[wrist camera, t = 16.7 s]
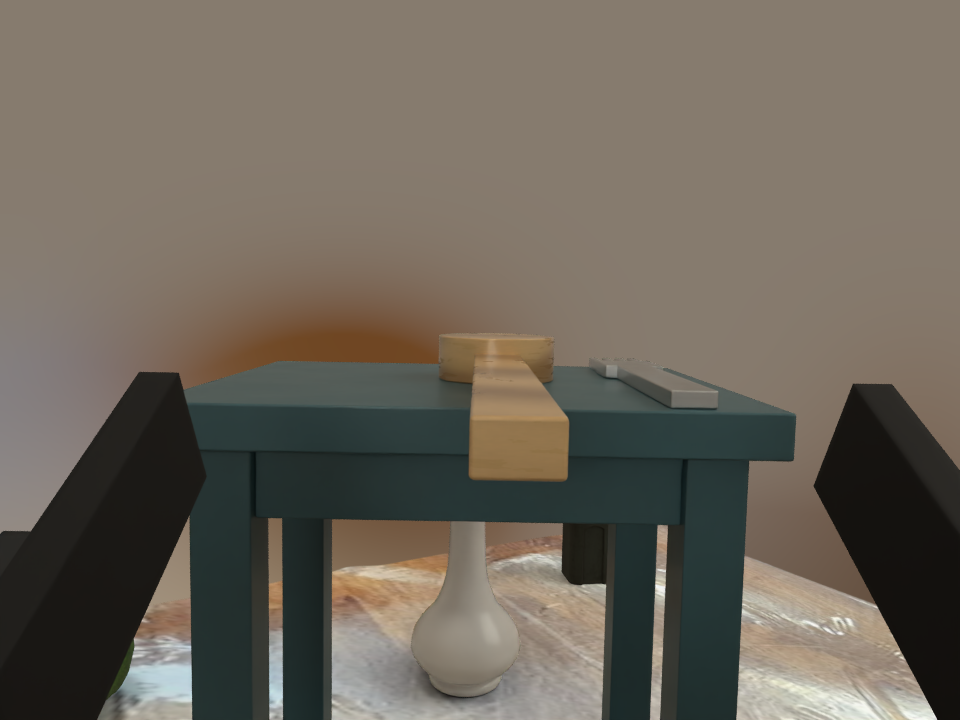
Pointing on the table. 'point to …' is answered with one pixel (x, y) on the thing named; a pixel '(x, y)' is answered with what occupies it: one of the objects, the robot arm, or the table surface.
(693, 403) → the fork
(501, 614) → the flower vase
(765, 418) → the stand
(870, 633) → the table surface
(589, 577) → the candle
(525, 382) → the wooden spoon
